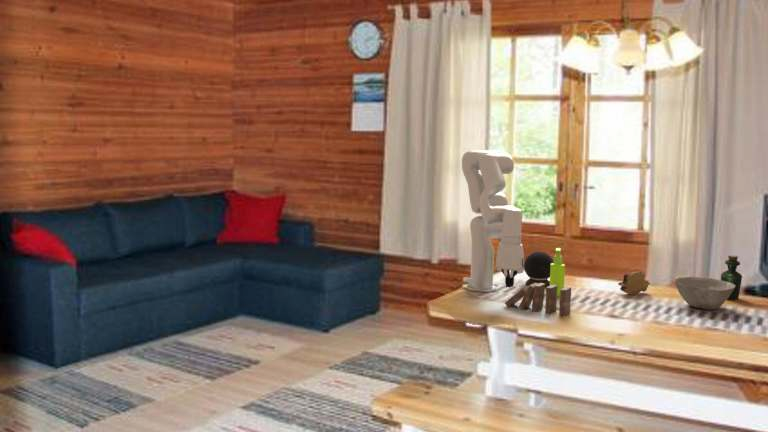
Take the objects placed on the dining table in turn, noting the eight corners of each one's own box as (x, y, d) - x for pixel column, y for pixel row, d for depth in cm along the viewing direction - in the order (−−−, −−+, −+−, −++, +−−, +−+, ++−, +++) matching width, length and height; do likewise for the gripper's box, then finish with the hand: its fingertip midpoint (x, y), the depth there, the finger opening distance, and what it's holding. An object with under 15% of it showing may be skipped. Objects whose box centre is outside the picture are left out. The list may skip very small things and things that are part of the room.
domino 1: (504, 302, 291) (522, 288, 286) (511, 300, 296) (529, 285, 291) (507, 307, 290) (525, 292, 286) (514, 304, 295) (532, 289, 291)
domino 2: (518, 306, 288) (529, 285, 284) (524, 303, 293) (535, 282, 289) (522, 309, 287) (534, 288, 284) (529, 306, 292) (540, 285, 289)
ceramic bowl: (703, 316, 281) (705, 290, 280) (659, 302, 303) (661, 278, 301) (747, 312, 290) (749, 286, 289) (701, 298, 311) (703, 275, 310)
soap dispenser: (548, 296, 309) (550, 248, 307) (549, 293, 316) (552, 246, 313) (562, 297, 308) (565, 249, 305) (564, 294, 314) (566, 247, 312)
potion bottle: (729, 295, 318) (733, 253, 316) (744, 299, 310) (748, 257, 308) (714, 296, 315) (717, 254, 313) (729, 301, 308) (733, 257, 305)
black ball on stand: (558, 287, 327) (560, 253, 325) (531, 288, 324) (532, 254, 322) (544, 281, 340) (546, 248, 338) (518, 282, 336) (519, 249, 335)
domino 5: (559, 315, 279) (560, 289, 278) (564, 312, 284) (566, 286, 283) (564, 316, 278) (565, 290, 277) (570, 313, 283) (571, 287, 282)
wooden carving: (640, 290, 323) (642, 268, 322) (649, 293, 320) (651, 270, 318) (615, 295, 314) (616, 271, 313) (624, 297, 311) (625, 273, 309)
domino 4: (545, 313, 282) (546, 287, 281) (551, 310, 287) (552, 284, 286) (550, 314, 281) (551, 288, 280) (556, 311, 286) (557, 285, 285)
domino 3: (531, 310, 285) (534, 285, 283) (537, 307, 290) (540, 282, 288) (536, 311, 284) (539, 286, 282) (542, 308, 289) (545, 283, 287)
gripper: (489, 239, 291) (487, 285, 294) (525, 243, 283) (523, 291, 285) (497, 237, 297) (496, 282, 300) (533, 241, 289) (531, 287, 291)
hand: (509, 286), depth 292 cm, fingers closed
